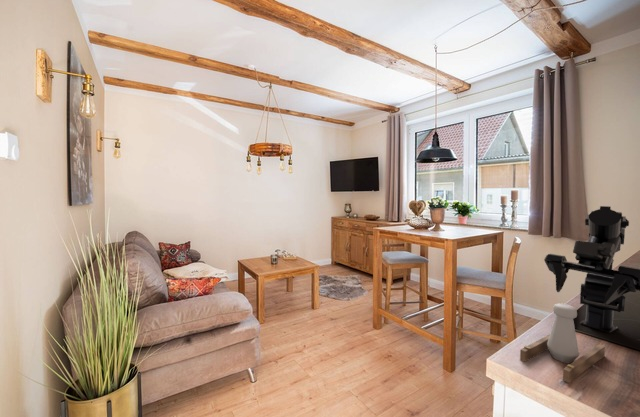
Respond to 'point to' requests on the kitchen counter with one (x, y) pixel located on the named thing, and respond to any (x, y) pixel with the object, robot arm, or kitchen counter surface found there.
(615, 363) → the kitchen counter surface
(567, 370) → the pair of wooden rails
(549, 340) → the salt shaker
